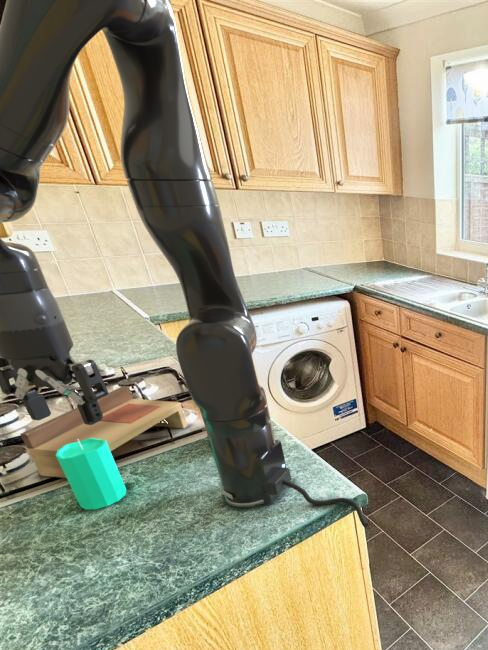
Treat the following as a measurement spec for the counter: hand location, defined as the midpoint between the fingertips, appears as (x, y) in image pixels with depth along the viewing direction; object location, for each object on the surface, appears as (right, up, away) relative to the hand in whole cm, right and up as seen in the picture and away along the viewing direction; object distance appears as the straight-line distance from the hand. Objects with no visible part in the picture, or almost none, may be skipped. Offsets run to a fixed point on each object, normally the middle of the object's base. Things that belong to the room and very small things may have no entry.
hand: (68, 420), depth 66 cm
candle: (-1, -14, +7) cm, 16 cm away
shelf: (-10, -7, +20) cm, 23 cm away
